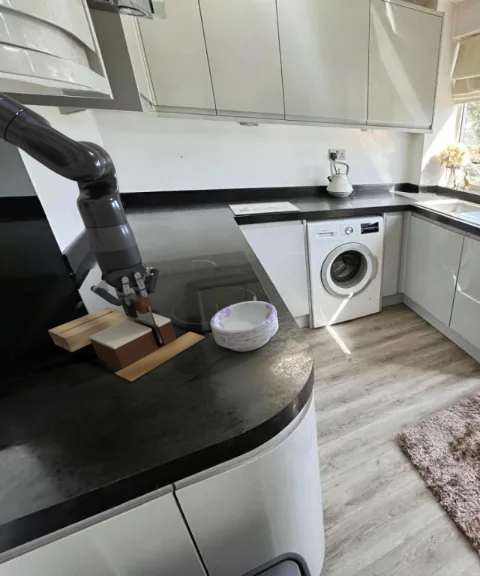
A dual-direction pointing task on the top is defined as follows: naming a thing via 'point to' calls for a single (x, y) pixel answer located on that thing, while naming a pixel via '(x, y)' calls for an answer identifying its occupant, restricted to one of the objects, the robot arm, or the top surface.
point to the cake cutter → (144, 314)
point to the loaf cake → (124, 343)
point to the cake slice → (164, 329)
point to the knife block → (85, 328)
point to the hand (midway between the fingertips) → (139, 314)
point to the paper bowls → (245, 325)
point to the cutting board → (159, 356)
